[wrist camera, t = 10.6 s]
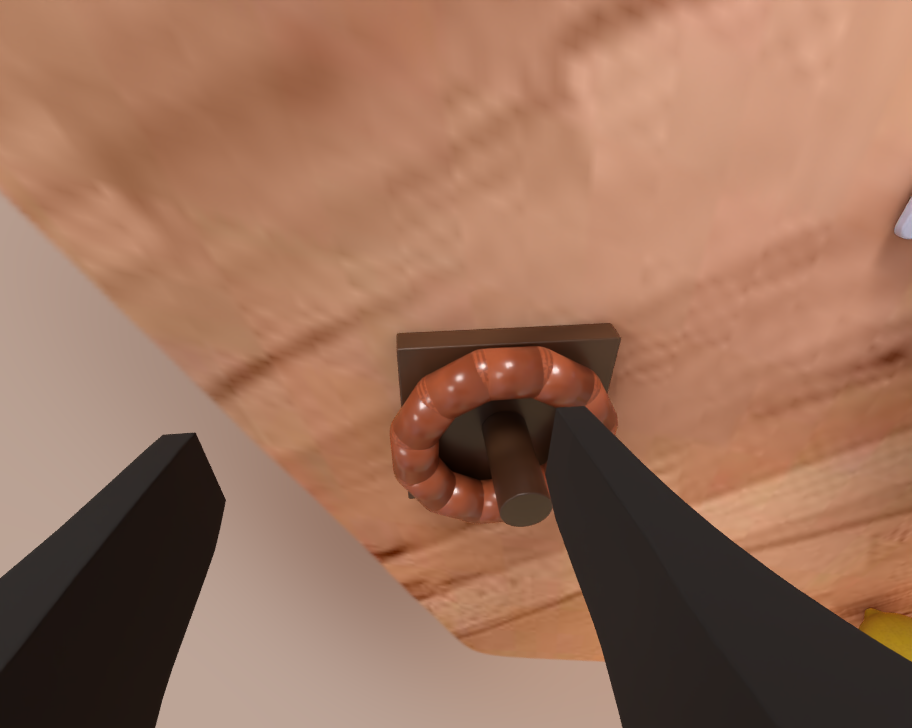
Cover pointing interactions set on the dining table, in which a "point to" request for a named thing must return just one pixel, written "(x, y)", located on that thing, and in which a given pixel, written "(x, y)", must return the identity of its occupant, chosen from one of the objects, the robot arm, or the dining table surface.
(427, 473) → the hoop
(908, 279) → the dining table surface
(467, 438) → the stand
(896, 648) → the lemon
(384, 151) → the dining table surface
